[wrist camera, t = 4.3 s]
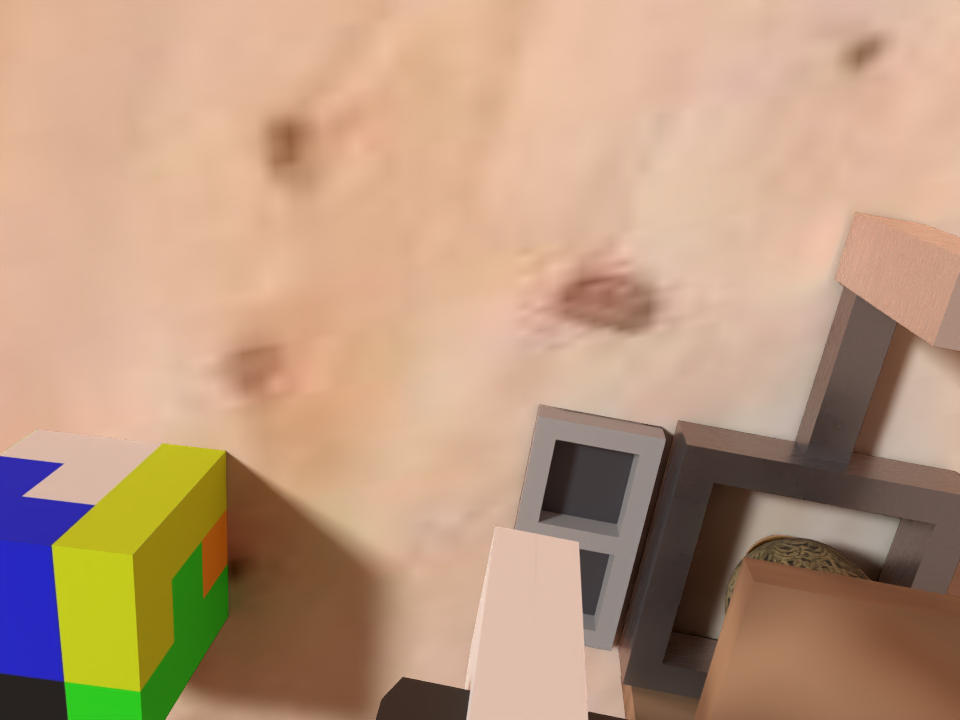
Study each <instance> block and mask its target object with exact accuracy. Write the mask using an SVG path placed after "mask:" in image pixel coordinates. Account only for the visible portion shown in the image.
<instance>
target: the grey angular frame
mask: <svg viewBox="0 0 960 720" xmlns="http://www.w3.org/2000/svg"><path fill="white" fill-rule="evenodd" d="M835 280H836V281H838V282H839V283H841V284H842V285H844V288H843V292H842V295H841V298H840V301H839V304H838V307H837V311H836V314H835V317H834V320H833V323H832V326H831V330H830V333H829V336H828V339H827V342H826V345H825V349H824V352H823V355H822V358H821V361H820V364H819V368H818V371H817V374H816V377H815V380H814V383H813V387H812V390H811V393H810V396H809V399H808V402H807V406H806V409H805V412H804V415H803V418H802V421H801V425H800V428H799V431H798V434H797V437H796V440H795V442H793V441H788V440H782V439H777V438H771V437H766V436H760V435H755V434H750V433H744V432H739V431H733V430H728V429H722V428H717V427H712V426H706V425H701V424H695V423H690V422H684V421H679V420H678V423H677V427H676V430H675V434H674V438H673V442H672V446H671V449H670V453H669V457H668V461H667V465H666V468H665V472H664V476H663V480H662V484H661V487H660V491H659V495H658V499H657V503H656V506H655V510H654V514H653V518H652V522H651V525H650V529H649V533H648V537H647V541H646V544H645V548H644V552H643V556H642V560H641V563H640V567H639V571H638V575H637V579H636V582H635V586H634V590H633V594H632V598H631V601H630V605H629V609H628V613H627V617H626V620H625V624H624V628H623V632H622V636H621V639H620V643H619V647H618V650H619V658H620V667H621V675H622V684H624V685H629V686H635V687H640V688H645V689H650V690H655V691H661V692H666V693H671V694H676V695H681V696H686V697H692V698H697V699H700V697H701V694H702V691H703V688H704V684H705V681H706V678H707V675H708V671H709V668H710V665H711V662H712V659H713V655H714V652H715V649H716V646H717V642H718V640H713V639H708V638H703V637H697V636H692V635H687V634H682V633H676V632H671V631H672V627H673V624H674V620H675V617H676V613H677V610H678V606H679V603H680V599H681V596H682V592H683V589H684V585H685V582H686V578H687V575H688V571H689V568H690V564H691V561H692V557H693V554H694V550H695V547H696V543H697V540H698V536H699V533H700V529H701V526H702V522H703V519H704V515H705V512H706V508H707V505H708V501H709V498H710V494H711V491H712V487H713V484H714V483H717V484H722V485H727V486H733V487H738V488H744V489H749V490H754V491H760V492H765V493H771V494H776V495H781V496H787V497H792V498H798V499H803V500H808V501H814V502H819V503H824V504H830V505H835V506H841V507H846V508H851V509H857V510H862V511H868V512H873V513H878V514H884V515H889V516H895V517H900V518H901V521H900V523H899V526H898V529H897V531H896V534H895V537H894V539H893V542H892V545H891V547H890V550H889V553H888V555H887V558H886V561H885V563H884V566H883V569H882V571H881V574H880V577H879V579H878V582H881V583H886V584H892V585H897V586H902V587H908V588H913V589H918V590H924V591H929V592H934V593H939V594H945V595H946V592H947V590H948V587H949V585H950V583H951V580H952V578H953V575H954V573H955V570H956V568H957V565H958V563H959V561H960V475H959V474H957V473H956V472H955V471H951V470H946V469H940V468H935V467H929V466H924V465H918V464H913V463H907V462H902V461H897V460H891V459H886V458H880V457H875V456H869V455H864V454H858V453H853V449H854V447H855V444H856V441H857V438H858V435H859V432H860V429H861V426H862V423H863V420H864V417H865V414H866V411H867V409H868V406H869V403H870V400H871V397H872V394H873V391H874V388H875V385H876V382H877V379H878V376H879V374H880V371H881V368H882V365H883V362H884V359H885V356H886V353H887V350H888V347H889V344H890V341H891V338H892V336H893V333H894V330H895V327H896V324H897V322H898V323H899V324H901V325H902V326H904V327H905V328H907V329H908V330H910V331H911V332H913V333H914V334H916V335H917V336H918V337H920V338H921V339H923V340H924V341H926V342H927V343H929V344H930V345H932V346H934V347H940V348H945V349H951V350H956V351H960V237H957V236H955V235H952V234H949V233H946V232H944V231H941V230H938V229H936V228H933V227H930V226H927V225H925V224H919V223H913V222H908V221H902V220H896V219H891V218H885V217H879V216H873V215H868V214H862V213H856V212H855V215H854V218H853V222H852V225H851V228H850V231H849V234H848V238H847V241H846V244H845V247H844V251H843V254H842V257H841V260H840V263H839V267H838V270H837V273H836V276H835Z"/></svg>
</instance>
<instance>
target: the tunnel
mask: <svg viewBox="0 0 960 720" xmlns="http://www.w3.org/2000/svg"><path fill="white" fill-rule="evenodd" d="M621 682H622V675H621ZM622 691H623V700H624V708H625V717H626V719H628V720H960V597H955V596H950V595H945V594H939V593H934V592H929V591H924V590H918V589H913V588H908V587H902V586H897V585H892V584H886V583H881V582H876V581H870V580H865V579H860V578H854V577H849V576H844V575H838V574H833V573H828V572H822V571H817V570H812V569H806V568H801V567H796V566H790V565H785V564H780V563H774V562H769V561H764V560H758V559H753V558H748V557H744V558H743V562H742V565H741V568H740V571H739V575H738V578H737V581H736V584H735V587H734V591H733V594H732V597H731V600H730V604H729V607H728V610H727V613H726V617H725V620H724V623H723V626H722V629H721V633H720V636H719V639H718V642H717V646H716V649H715V652H714V655H713V659H712V662H711V665H710V668H709V671H708V675H707V678H706V681H705V684H704V688H703V691H702V694H701V697H700V699H697V698H692V697H686V696H681V695H676V694H671V693H666V692H661V691H655V690H650V689H645V688H640V687H635V686H629V685H624V684H622Z"/></svg>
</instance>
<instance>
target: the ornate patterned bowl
mask: <svg viewBox="0 0 960 720" xmlns="http://www.w3.org/2000/svg"><path fill="white" fill-rule="evenodd" d="M745 557H748V558H753V559H758V560H764V561H769V562H774V563H780V564H785V565H790V566H796V567H801V568H806V569H812V570H817V571H822V572H828V573H833V574H838V575H844V576H849V577H854V578H860V579H865V580H870V579H869V578H868V577H867V575H866V574H865V573H864V572H863V571H862V570H861V569H860V568H859V567H857V566H856V565H855V564H854V563H853V562H852V561H851V560H850V559H848V558H847V557H846V556H844V555H843V554H842V553H840V552H839V551H837V550H836V549H834V548H832V547H830V546H828V545H826V544H823V543H820V542H817V541H814V540H810V539H804V538H794V537H791V536H787V535H772V536H768V537H765V538H763V539H761V540H759V541H757V542H756V543H755V544H753V545H752V546H751V547H750V549H749V550H748V552H747V553H746V555H745ZM742 562H743V559H742V560H741V561H740V563H739V564H738V565H737V567H736V568H735V570H734V572H733V574H732V576H731V578H730V580H729V583H728V586H727V591H726V598H725V617H726V613H727V610H728V607H729V604H730V600H731V597H732V594H733V591H734V587H735V584H736V581H737V578H738V575H739V571H740V568H741V565H742ZM870 581H871V580H870Z"/></svg>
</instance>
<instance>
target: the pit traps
mask: <svg viewBox="0 0 960 720" xmlns="http://www.w3.org/2000/svg"><path fill="white" fill-rule="evenodd" d="M665 441H666V438H665V435H664V432H663V429H662V427H659V426H654V425H648V424H643V423H637V422H632V421H626V420H621V419H616V418H610V417H605V416H599V415H594V414H588V413H583V412H577V411H572V410H567V409H561V408H556V407H550V406H545V405H539V408H538V413H537V418H536V423H535V428H534V433H533V438H532V443H531V448H530V453H529V458H528V463H527V468H526V473H525V478H524V483H523V487H522V492H521V497H520V502H519V507H518V512H517V517H516V522H515V527H514V529H515V530H520V531H525V532H530V533H535V534H540V535H546V536H551V537H556V538H561V539H566V540H571V541H576V542H579V554H580V573H581V592H582V611H583V630H584V646H587V647H592V648H597V649H603V650H608V651H611V649H612V645H613V641H614V638H615V634H616V630H617V626H618V622H619V618H620V615H621V611H622V607H623V603H624V599H625V595H626V591H627V588H628V584H629V580H630V576H631V572H632V568H633V565H634V561H635V557H636V553H637V549H638V545H639V541H640V538H641V534H642V530H643V526H644V522H645V518H646V515H647V511H648V507H649V503H650V499H651V495H652V491H653V488H654V484H655V480H656V476H657V472H658V468H659V465H660V461H661V457H662V453H663V449H664V445H665Z"/></svg>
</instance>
